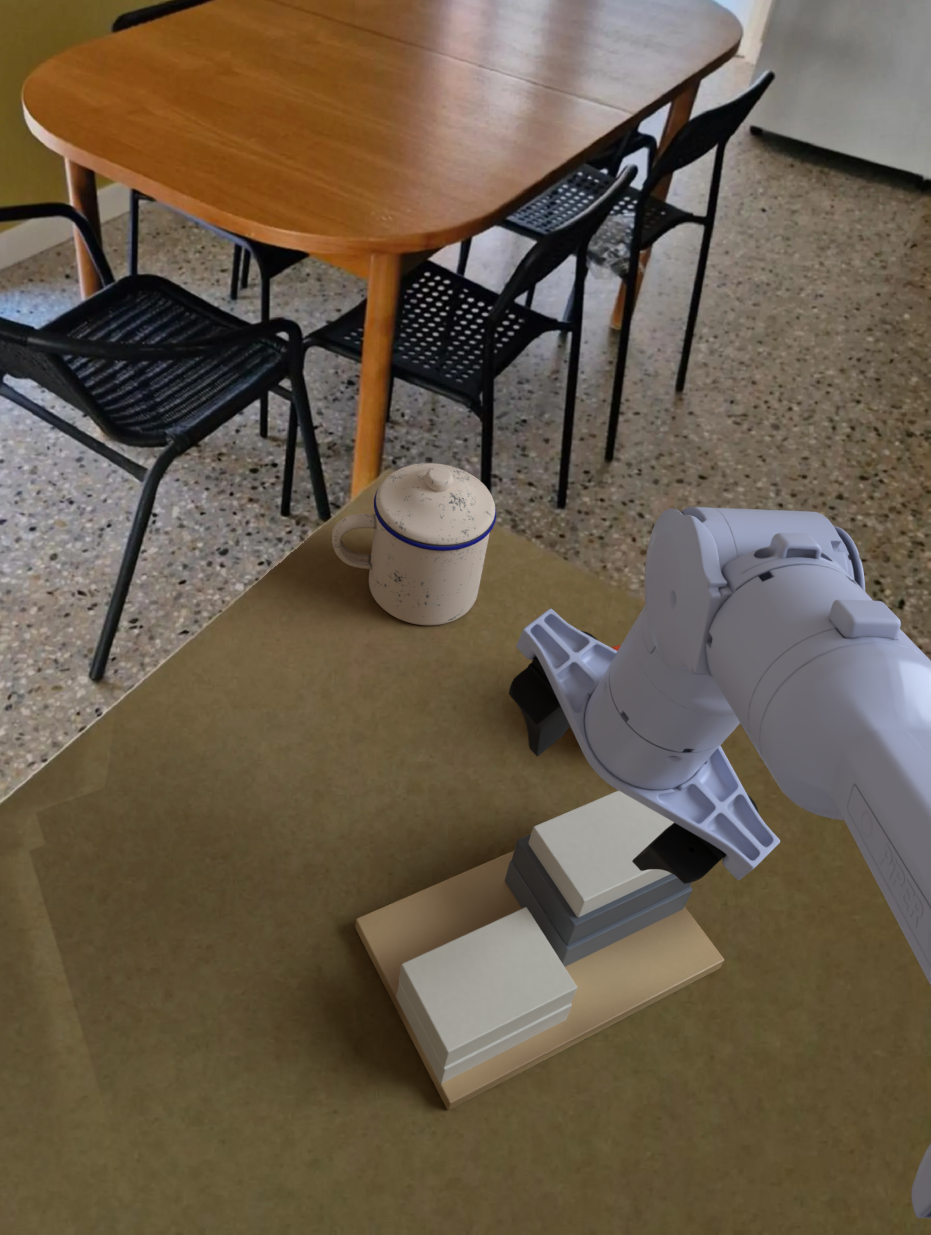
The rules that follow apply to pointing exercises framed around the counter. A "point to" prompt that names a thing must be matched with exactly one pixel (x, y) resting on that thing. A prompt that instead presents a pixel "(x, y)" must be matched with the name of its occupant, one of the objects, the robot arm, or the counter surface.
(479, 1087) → the shelf board
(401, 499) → the teacup with lid
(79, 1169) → the counter surface
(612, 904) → the grey books
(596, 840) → the white book
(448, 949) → the white books
